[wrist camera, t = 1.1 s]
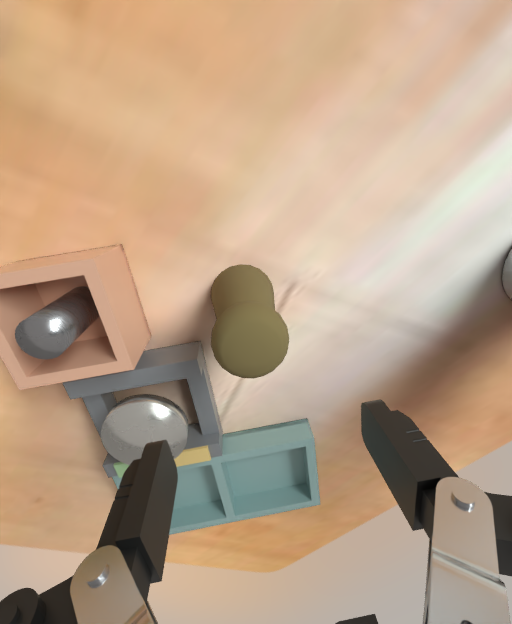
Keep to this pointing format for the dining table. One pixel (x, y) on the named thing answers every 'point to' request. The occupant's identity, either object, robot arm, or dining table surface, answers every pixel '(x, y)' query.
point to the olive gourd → (247, 323)
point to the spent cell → (57, 324)
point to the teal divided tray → (248, 478)
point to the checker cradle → (155, 370)
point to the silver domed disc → (143, 427)
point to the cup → (97, 337)
